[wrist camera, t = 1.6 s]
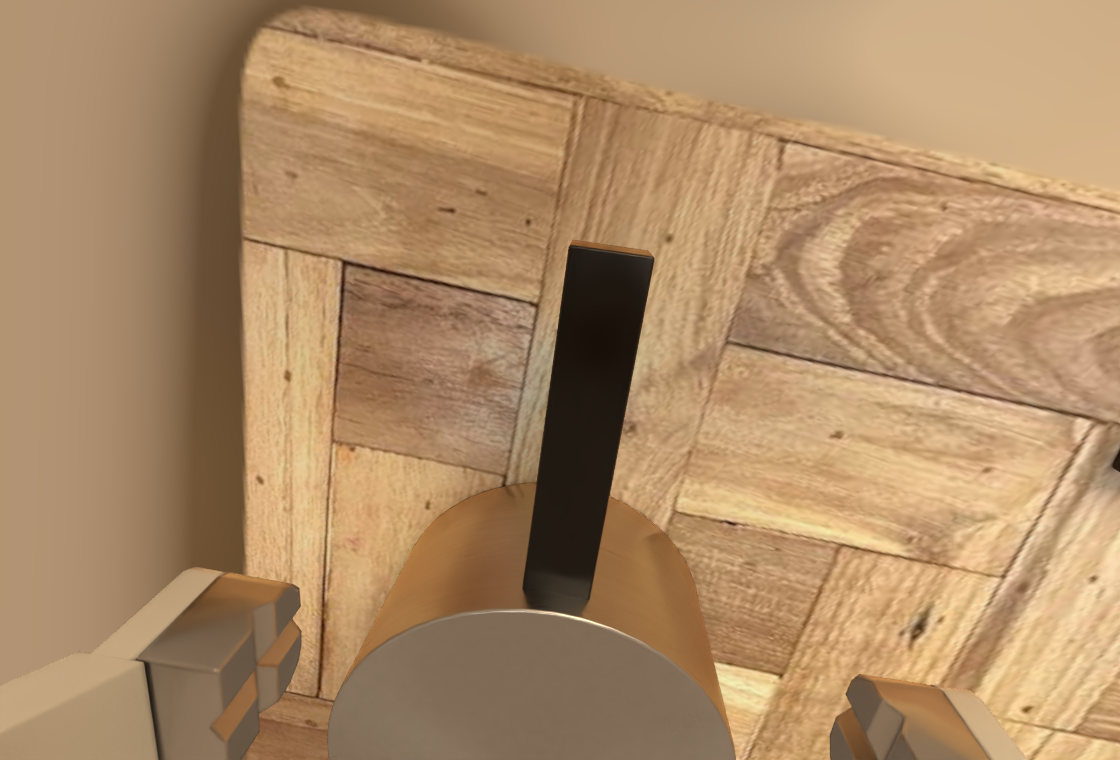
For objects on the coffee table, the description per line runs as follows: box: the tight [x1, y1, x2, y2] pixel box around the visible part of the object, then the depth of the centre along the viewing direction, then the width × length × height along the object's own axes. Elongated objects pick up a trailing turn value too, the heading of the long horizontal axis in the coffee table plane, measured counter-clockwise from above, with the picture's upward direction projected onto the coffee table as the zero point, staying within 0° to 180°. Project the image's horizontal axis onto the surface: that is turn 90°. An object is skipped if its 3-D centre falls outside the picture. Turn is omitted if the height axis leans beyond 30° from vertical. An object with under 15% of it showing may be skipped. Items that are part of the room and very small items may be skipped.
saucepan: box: [327, 240, 736, 760], centre depth 19 cm, size 23×13×7 cm, turn 172°
